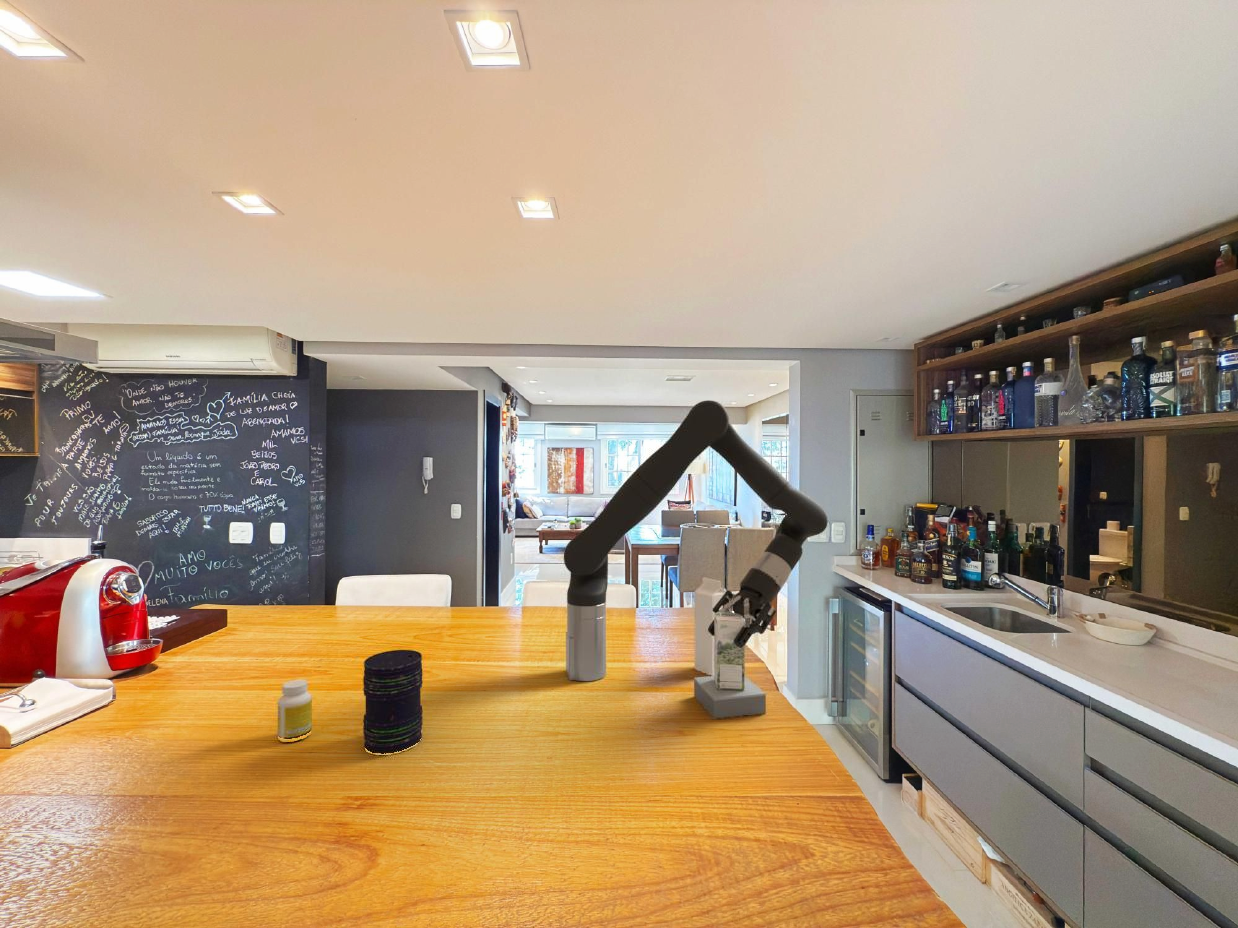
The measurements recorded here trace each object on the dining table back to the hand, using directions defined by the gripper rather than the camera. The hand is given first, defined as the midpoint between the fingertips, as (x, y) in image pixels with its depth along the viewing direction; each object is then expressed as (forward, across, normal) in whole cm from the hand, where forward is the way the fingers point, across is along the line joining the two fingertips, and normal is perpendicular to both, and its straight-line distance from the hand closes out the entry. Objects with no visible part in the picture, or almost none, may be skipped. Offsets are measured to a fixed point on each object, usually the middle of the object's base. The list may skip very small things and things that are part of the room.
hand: (723, 639), depth 114 cm
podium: (+9, 0, +11) cm, 14 cm away
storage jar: (+54, -16, -34) cm, 65 cm away
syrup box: (+6, 0, +8) cm, 10 cm away
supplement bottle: (+65, -26, -45) cm, 83 cm away
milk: (+3, -17, +17) cm, 24 cm away
